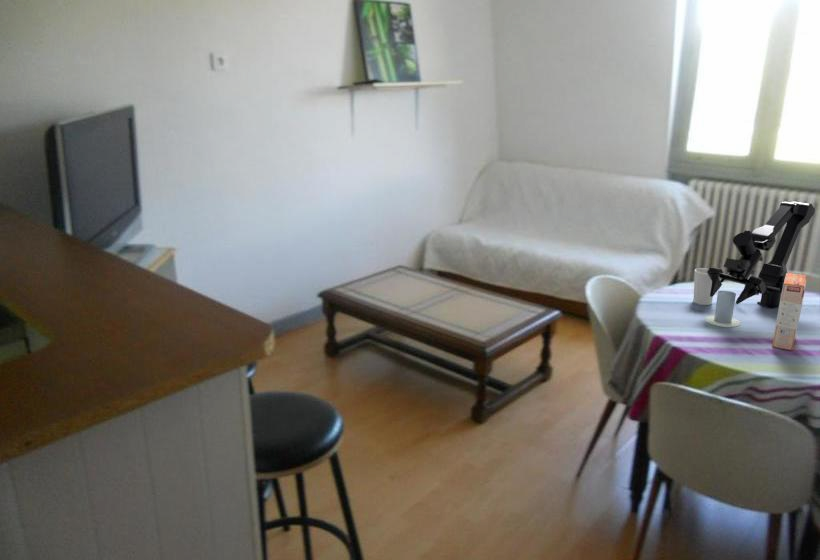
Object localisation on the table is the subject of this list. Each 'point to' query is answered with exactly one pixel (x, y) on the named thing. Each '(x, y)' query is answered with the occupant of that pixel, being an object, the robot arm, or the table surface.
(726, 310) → the grey cylinder
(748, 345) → the table surface
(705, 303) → the cup
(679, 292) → the table surface
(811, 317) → the table surface
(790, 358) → the table surface
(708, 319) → the mat
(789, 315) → the cracker box
